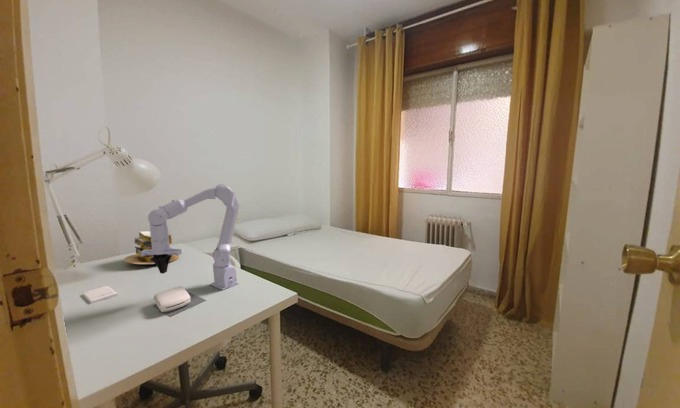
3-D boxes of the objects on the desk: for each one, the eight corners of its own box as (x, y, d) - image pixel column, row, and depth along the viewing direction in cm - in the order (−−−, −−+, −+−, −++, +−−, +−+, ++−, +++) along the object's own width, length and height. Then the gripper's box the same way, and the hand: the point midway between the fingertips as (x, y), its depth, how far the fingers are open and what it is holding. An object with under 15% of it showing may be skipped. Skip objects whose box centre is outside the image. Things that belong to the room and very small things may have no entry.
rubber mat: (206, 300, 102) (206, 299, 102) (170, 316, 91) (170, 316, 91) (188, 292, 109) (188, 291, 109) (153, 306, 98) (153, 305, 98)
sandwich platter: (175, 250, 164) (172, 224, 161) (182, 261, 145) (179, 232, 142) (124, 260, 148) (120, 231, 146) (125, 273, 129) (120, 240, 127)
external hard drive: (108, 288, 114) (118, 296, 107) (82, 296, 108) (91, 305, 101) (108, 285, 114) (117, 292, 107) (82, 292, 107) (90, 301, 100)
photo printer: (183, 284, 106) (192, 294, 98) (184, 294, 107) (193, 305, 98) (152, 293, 99) (159, 305, 91) (153, 303, 100) (160, 316, 91)
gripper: (184, 236, 107) (187, 268, 108) (148, 236, 106) (152, 268, 108) (174, 241, 100) (177, 275, 101) (135, 241, 99) (139, 275, 101)
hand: (163, 272), depth 104 cm, fingers closed
